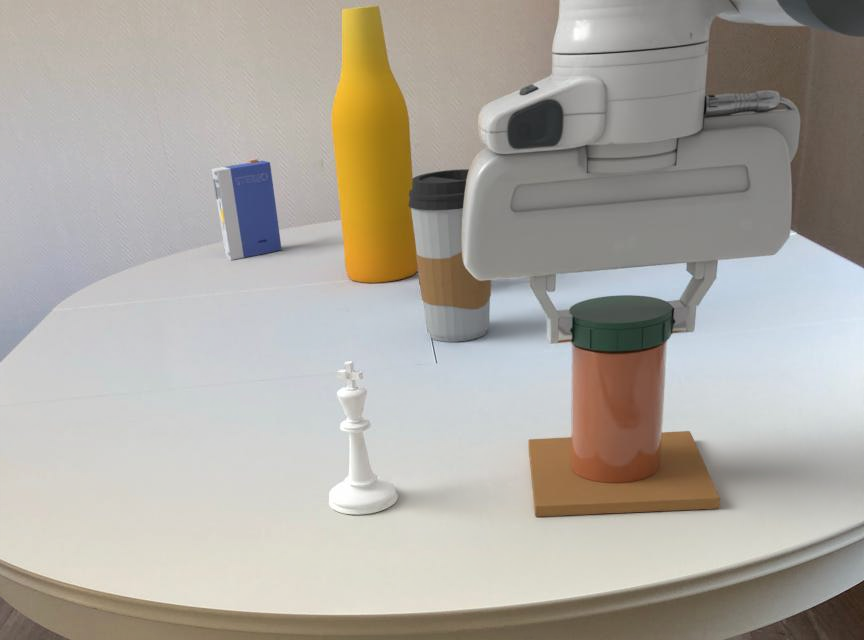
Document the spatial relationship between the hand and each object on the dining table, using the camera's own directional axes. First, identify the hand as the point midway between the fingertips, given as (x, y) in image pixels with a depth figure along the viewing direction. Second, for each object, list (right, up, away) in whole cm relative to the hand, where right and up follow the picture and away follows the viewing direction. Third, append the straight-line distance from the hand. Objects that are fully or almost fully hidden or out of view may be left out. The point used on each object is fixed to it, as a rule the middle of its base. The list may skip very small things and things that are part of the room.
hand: (618, 336), depth 70 cm
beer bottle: (-16, +26, +64) cm, 70 cm away
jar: (+1, -8, +5) cm, 9 cm away
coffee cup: (-8, +11, +39) cm, 41 cm away
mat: (+1, -8, +5) cm, 10 cm away
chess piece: (-17, -10, +6) cm, 21 cm away
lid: (0, +1, -1) cm, 1 cm away
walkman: (-34, +35, +81) cm, 94 cm away
